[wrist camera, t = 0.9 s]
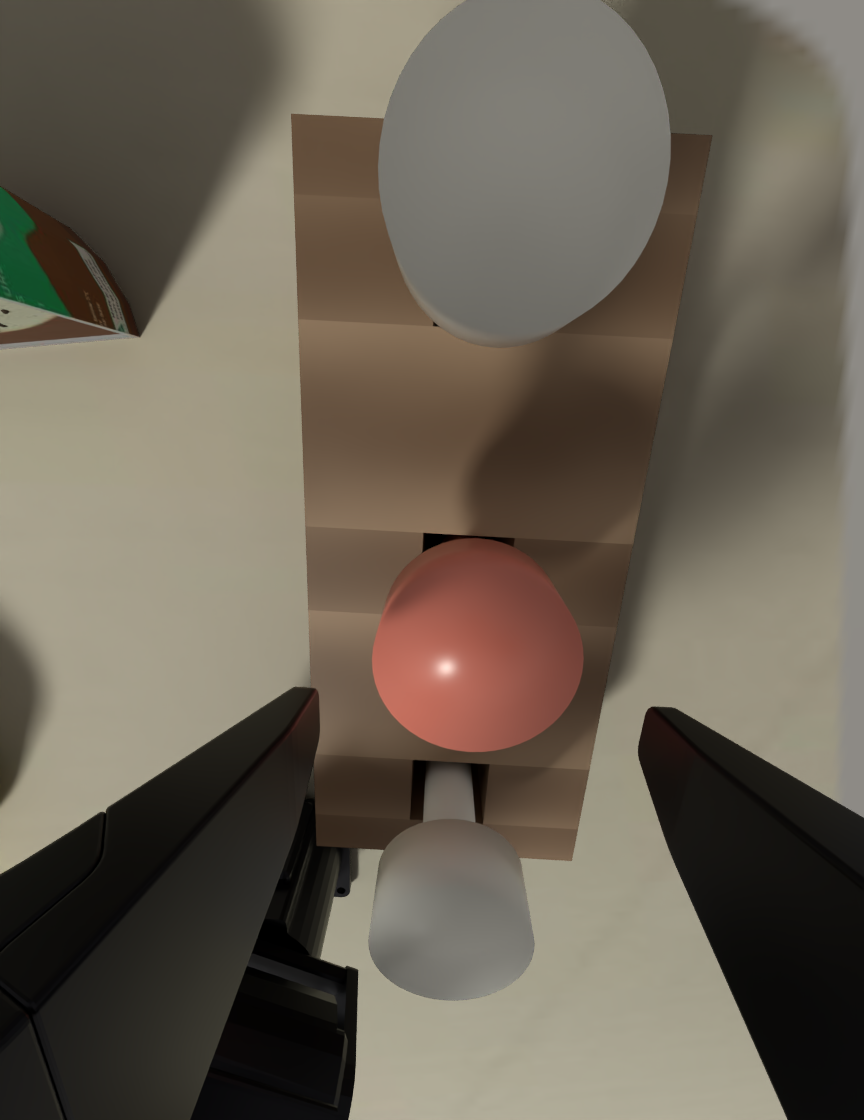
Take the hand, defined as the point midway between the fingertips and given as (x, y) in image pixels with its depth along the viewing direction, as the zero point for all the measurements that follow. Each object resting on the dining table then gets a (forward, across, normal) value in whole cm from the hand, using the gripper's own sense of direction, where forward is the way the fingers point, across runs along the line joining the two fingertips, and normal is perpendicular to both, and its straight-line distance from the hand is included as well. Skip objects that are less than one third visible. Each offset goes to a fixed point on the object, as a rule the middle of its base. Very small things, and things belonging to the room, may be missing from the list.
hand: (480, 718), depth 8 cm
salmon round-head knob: (+9, 0, 0) cm, 9 cm away
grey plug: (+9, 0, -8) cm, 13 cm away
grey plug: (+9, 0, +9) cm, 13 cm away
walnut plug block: (+13, 0, 0) cm, 13 cm away
